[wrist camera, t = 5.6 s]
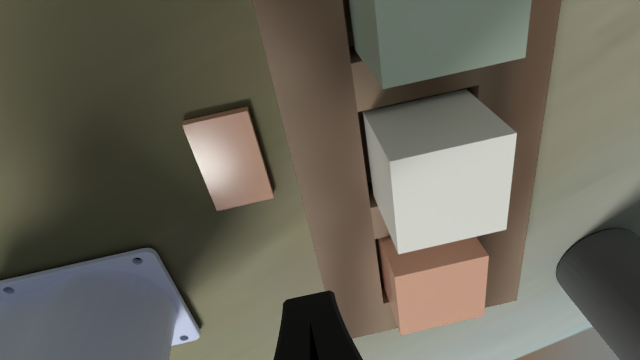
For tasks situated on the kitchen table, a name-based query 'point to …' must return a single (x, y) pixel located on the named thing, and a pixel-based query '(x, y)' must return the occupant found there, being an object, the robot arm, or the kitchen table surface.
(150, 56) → the kitchen table surface
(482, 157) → the white cube
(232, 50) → the kitchen table surface
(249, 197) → the tile
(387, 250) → the salmon cube
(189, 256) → the kitchen table surface
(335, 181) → the brown wooden tray
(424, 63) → the green cube
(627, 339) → the bottle
